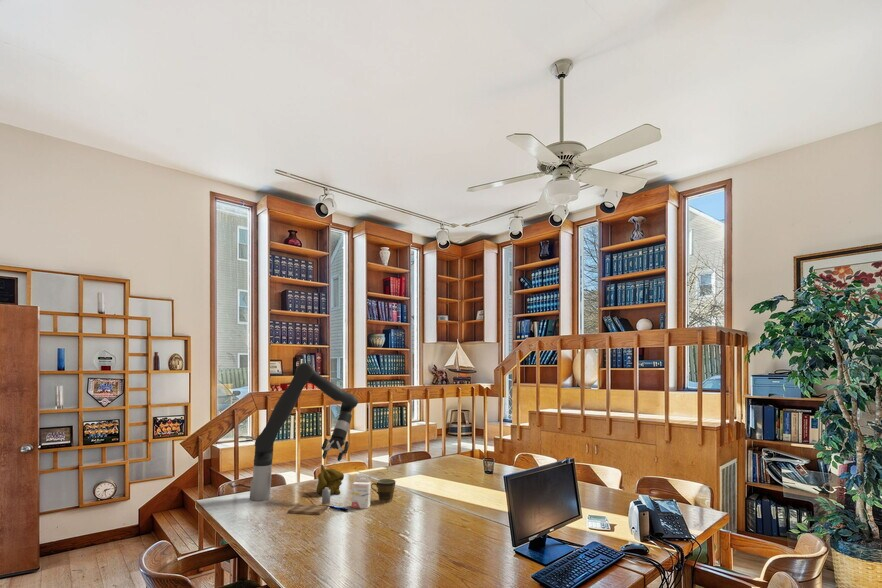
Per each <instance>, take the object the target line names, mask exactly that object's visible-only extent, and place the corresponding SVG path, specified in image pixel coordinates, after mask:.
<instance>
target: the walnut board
mask: <svg viewBox="0 0 882 588" xmlns="http://www.w3.org/2000/svg"><path fill="white" fill-rule="evenodd" d="M328 509H329V506H322V505H315V504H314V505H313V504H297V503H296V504H295V505H294V506H293V507H291V508H290V509H288V510H287V514H296V513H299V515H312V514H315V516H320V515H321V513H322V514H323V513H324V512H325V510H326V511H327V510H328Z"/></svg>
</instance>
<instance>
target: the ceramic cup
mask: <svg viewBox="0 0 882 588" xmlns="http://www.w3.org/2000/svg"><path fill="white" fill-rule="evenodd" d="M396 482H397V481H396V480H395V479H392V478H381V479H377V480H376V482H373V483H372V482H371V490H373V491H374V492H375V493H376V494H377V496H378V502H380V503H382V504H383V503H384V504H387V502H388V503H392V502H393V497H394V492H395V487H396ZM373 485H375V486H376V488H377V490H376V489H374V488H373Z"/></svg>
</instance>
